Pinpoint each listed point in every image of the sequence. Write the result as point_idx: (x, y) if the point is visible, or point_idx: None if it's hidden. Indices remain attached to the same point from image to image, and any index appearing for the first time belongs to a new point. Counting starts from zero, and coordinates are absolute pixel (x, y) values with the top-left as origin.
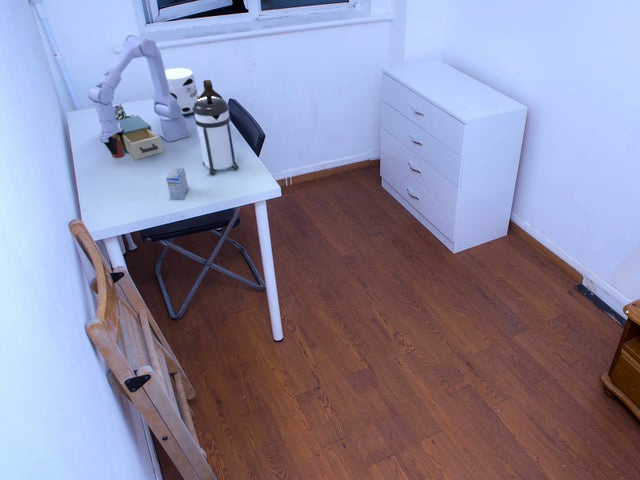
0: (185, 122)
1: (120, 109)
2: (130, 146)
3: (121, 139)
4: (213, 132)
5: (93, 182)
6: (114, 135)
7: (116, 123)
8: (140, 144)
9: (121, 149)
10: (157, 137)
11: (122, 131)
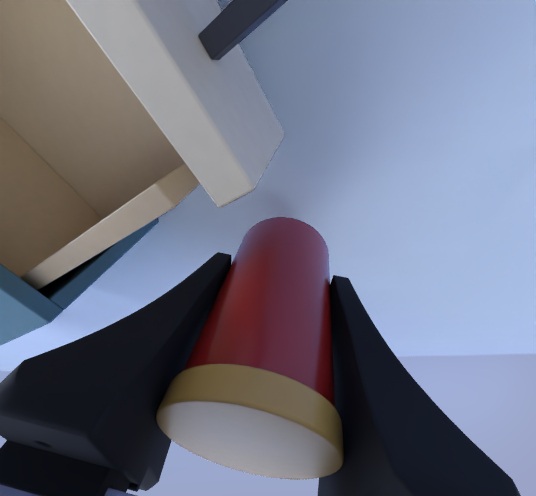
0: None
1: None
2: (258, 180)
3: (180, 310)
4: None
5: (501, 324)
6: (192, 432)
7: None
8: (171, 24)
9: (299, 263)
10: None
11: (61, 418)
